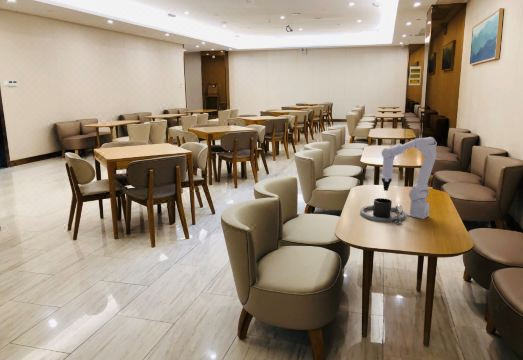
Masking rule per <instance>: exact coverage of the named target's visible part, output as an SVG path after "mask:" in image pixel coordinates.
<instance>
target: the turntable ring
mask: <svg viewBox="0 0 523 360" xmlns="http://www.w3.org/2000/svg"><path fill="white" fill-rule="evenodd" d="M373 208H374V204H371V205H365V206H363V207H361V208H360V211H359V214H360V216H361V217H364V218H365V219H368V220H371V221H376V222H381V223H382V222H383V223H394V221H397V218H395V217H390V218H382V217H376V216H373V214H372V215H371V214H369V213H366V211H370V210H373ZM391 212H395V213H397V212H396V207H394V206H391ZM405 219H406V212H405V211H404V210H403V211H402V213H400V217H399V221H400V222H402V221H403V220H405Z"/></svg>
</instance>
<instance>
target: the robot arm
mask: <svg viewBox="0 0 523 360" xmlns="http://www.w3.org/2000/svg"><path fill="white" fill-rule="evenodd" d="M437 144H438V142H437V141H436V139H435V138H434V137H433V136H428V137H418V138H415V139H412V140H410V141H408V142H405V143H404V144H402V143H399V142H398V143H395V145H391V146H389V147H388V148H384V149H382V150H381V156H382V157H383V158H382V159H383V160H382V171H381V174H380V175H379V177H382V178H381V181H382V185H383V191H386V192H388V191H389V188H390V184H391V183H392V178H393V169H394V167H393V166H394V160H395V158H396V156H399V155H402V154H404V153H405V151H407V150H409V149H412V148H416V149H417V150H418V152H420V153H421V154H422V155H423V156H424V159H423V161H422V163H421V167H420V170H419V174H418V176H417V181H416V183H415V184H414V185H413V186H412V188H411V189H410V191H409V193H408V197H409V199H410V208H409V209H410V210H409V213H407V214H406V215H407V216H408V217H413V218H418V219H421V220H424V219H426V218H428V217H429V216H430V202H429V201H426V200H427V198H428V196H429V189H430V187H429V186H428V183H429V179H430V177H431V173H432V171H433V167H434V165H435V162H436V159H437Z"/></svg>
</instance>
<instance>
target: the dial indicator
mask: <svg viewBox="0 0 523 360" xmlns="http://www.w3.org/2000/svg"><path fill="white" fill-rule="evenodd" d="M395 208H396V212H395V213H397V214H396V216H394V218H397V221H394V222H393V224H395V225H397V226H398V225H402V224H403V222H402V221H399V217H400V215H401V214H400V213H402V211H404V210H403V206H402V205H401V204H396V206H395Z"/></svg>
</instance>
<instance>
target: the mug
mask: <svg viewBox="0 0 523 360" xmlns="http://www.w3.org/2000/svg"><path fill="white" fill-rule="evenodd" d="M392 203H393V202H392V200H391V199H389V198H381V197H379V198H374V199H373V205H374V208H373V209H372V216H376V217H382V218H391V215H392V214H391V213H392V211H391V207H392Z"/></svg>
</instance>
